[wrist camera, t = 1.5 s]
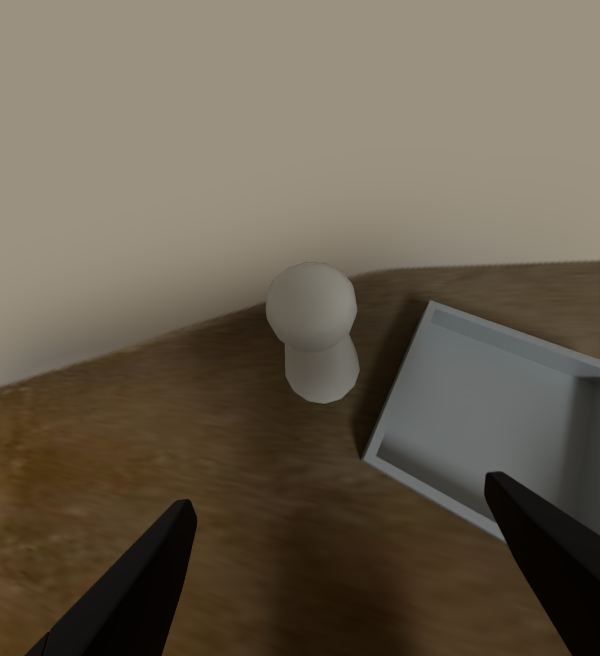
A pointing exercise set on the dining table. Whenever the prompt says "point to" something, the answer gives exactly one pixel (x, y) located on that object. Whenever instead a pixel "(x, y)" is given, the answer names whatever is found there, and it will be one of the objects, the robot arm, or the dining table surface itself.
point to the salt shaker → (315, 329)
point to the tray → (490, 418)
